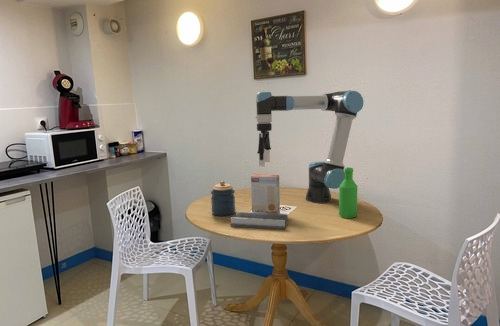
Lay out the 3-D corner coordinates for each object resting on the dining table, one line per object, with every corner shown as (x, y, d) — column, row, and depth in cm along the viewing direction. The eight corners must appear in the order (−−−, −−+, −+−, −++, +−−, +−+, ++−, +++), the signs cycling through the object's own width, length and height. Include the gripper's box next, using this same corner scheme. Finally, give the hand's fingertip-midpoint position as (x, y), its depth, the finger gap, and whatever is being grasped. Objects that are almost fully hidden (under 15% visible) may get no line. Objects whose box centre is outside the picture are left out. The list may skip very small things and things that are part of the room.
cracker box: (280, 213, 183) (279, 174, 180) (277, 216, 178) (276, 177, 174) (255, 211, 188) (254, 173, 184) (251, 214, 182) (250, 175, 179)
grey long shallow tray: (287, 221, 170) (287, 213, 170) (284, 229, 159) (284, 221, 158) (237, 218, 176) (237, 210, 176) (230, 226, 165) (230, 218, 164)
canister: (207, 215, 183) (205, 183, 180) (217, 208, 195) (216, 177, 192) (229, 217, 178) (228, 184, 175) (239, 210, 190) (238, 179, 187)
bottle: (347, 219, 170) (348, 170, 166) (335, 215, 178) (336, 167, 173) (360, 216, 174) (361, 168, 170) (348, 212, 182) (349, 165, 177)
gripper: (261, 121, 188) (262, 160, 191) (251, 124, 164) (252, 168, 167) (275, 121, 186) (275, 160, 189) (266, 124, 162) (267, 168, 165)
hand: (264, 164), depth 178 cm, fingers open, 13 cm apart
